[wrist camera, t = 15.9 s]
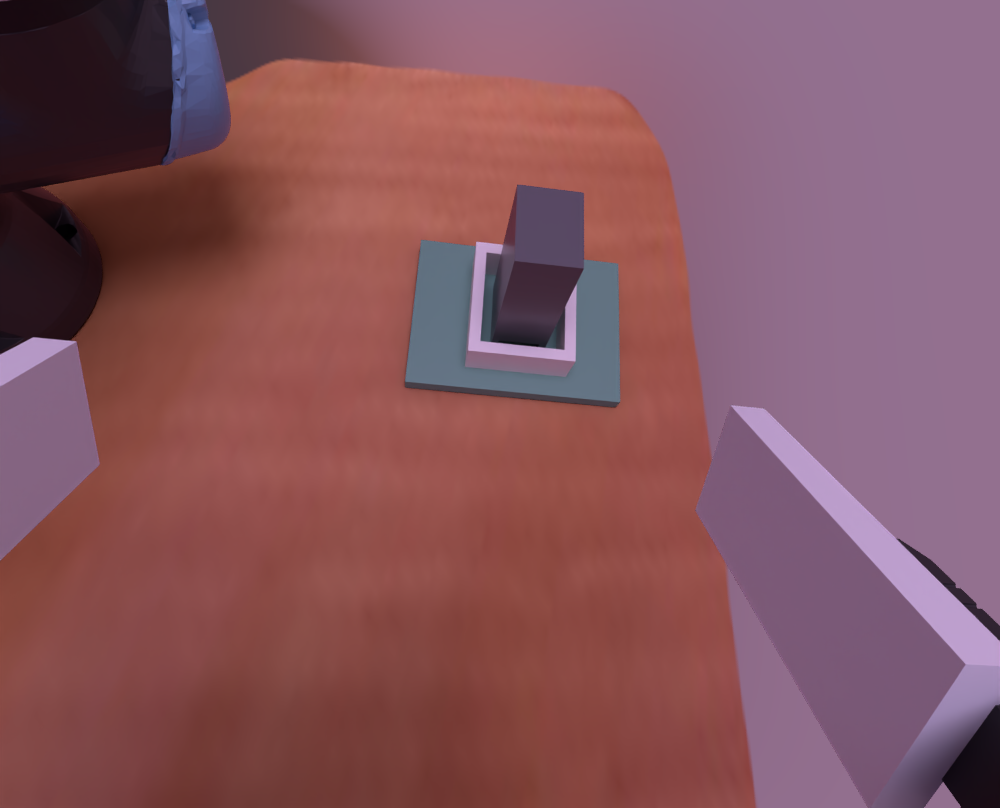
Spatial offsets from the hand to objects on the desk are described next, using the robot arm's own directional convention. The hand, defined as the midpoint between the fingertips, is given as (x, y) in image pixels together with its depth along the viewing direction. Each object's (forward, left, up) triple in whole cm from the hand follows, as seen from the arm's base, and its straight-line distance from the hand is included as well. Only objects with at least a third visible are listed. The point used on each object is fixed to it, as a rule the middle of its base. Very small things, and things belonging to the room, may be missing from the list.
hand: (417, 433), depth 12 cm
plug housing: (+1, +19, -28) cm, 34 cm away
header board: (+1, +19, -30) cm, 35 cm away
